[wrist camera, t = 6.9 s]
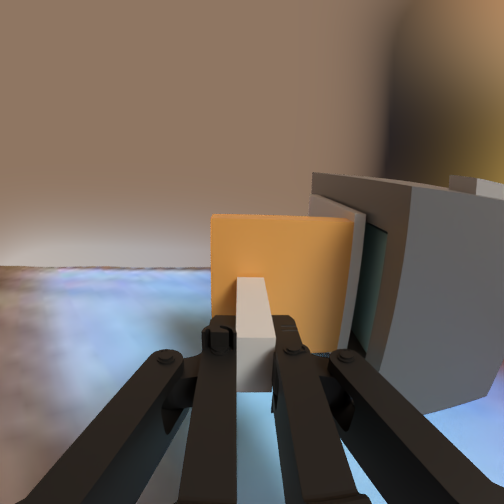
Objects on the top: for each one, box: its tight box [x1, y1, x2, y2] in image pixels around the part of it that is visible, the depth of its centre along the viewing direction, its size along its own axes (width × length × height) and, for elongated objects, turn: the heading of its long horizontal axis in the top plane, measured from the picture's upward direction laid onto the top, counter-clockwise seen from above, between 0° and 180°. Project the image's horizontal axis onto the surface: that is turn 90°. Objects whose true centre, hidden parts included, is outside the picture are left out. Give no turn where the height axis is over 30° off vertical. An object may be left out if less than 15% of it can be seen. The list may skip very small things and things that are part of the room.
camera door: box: [211, 194, 366, 353], centre depth 24 cm, size 9×12×10 cm
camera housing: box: [312, 172, 504, 415], centre depth 25 cm, size 11×22×15 cm, turn 2°
